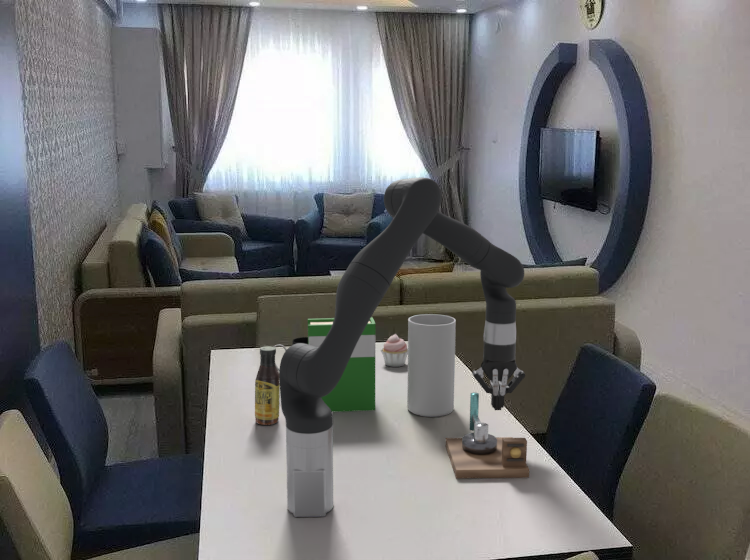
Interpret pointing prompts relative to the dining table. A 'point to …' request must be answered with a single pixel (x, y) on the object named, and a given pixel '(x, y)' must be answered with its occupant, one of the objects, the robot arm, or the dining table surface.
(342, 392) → the hardback book
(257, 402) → the sauce bottle
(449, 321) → the cylinder vase
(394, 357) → the cupcake
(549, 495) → the dining table surface
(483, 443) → the lever
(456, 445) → the stand
